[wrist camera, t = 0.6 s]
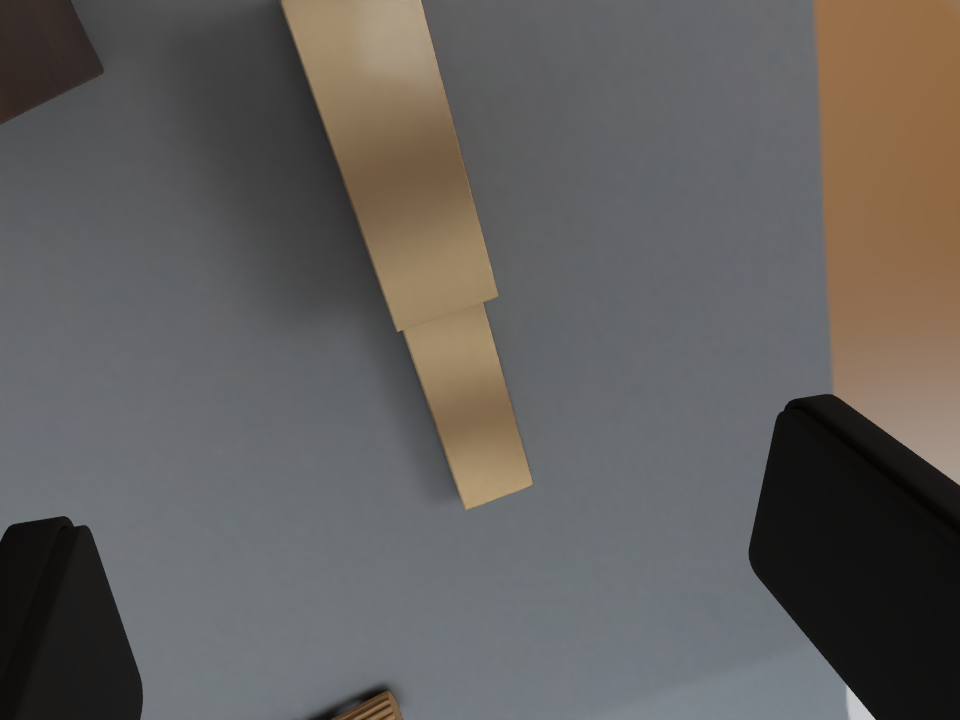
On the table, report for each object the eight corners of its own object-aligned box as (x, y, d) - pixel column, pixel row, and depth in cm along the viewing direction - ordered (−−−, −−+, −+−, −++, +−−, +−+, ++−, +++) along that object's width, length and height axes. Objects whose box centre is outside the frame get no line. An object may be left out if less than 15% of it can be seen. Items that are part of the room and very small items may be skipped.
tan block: (278, -2, 19) (279, 0, 17) (392, -35, 20) (411, -39, 17) (454, 497, 28) (473, 548, 26) (530, 468, 28) (556, 516, 26)
